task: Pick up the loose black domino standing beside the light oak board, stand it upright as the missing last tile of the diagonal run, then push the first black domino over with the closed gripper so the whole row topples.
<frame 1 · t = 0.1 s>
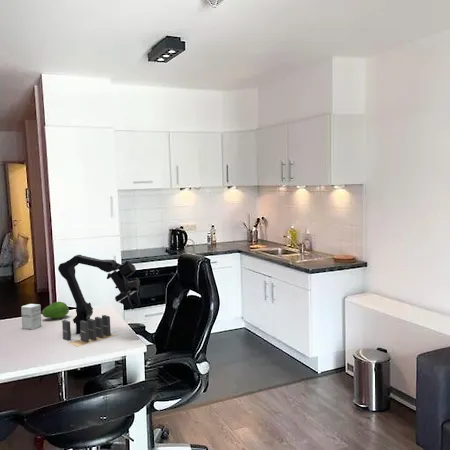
hand: (136, 306, 240), 15 cm above the table, tool tilted 35°, fingers open, 9 cm apart
domino 1: (106, 334, 241), point 1 cm above the table, touching board
domino 2: (99, 336, 238), point 1 cm above the table, touching board
fruit: (55, 319, 277), on the table
domino 3: (92, 339, 235), point 1 cm above the table, touching board
board: (92, 340, 235), on the table
supplement box: (32, 327, 260), on the table
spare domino: (67, 340, 235), on the table
domino 4: (84, 341, 232), point 1 cm above the table, touching board
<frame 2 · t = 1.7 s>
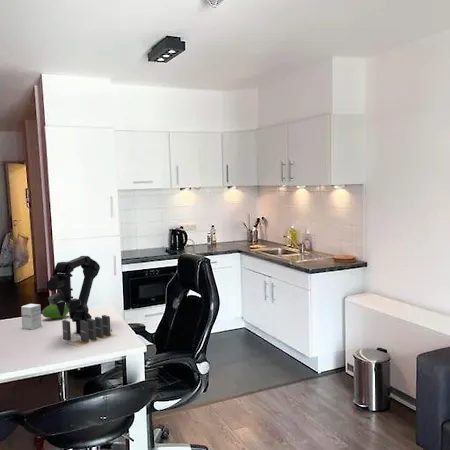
hand: (66, 317, 234), 12 cm above the table, tool pointing down, fingers open, 9 cm apart
nothing on the table moved.
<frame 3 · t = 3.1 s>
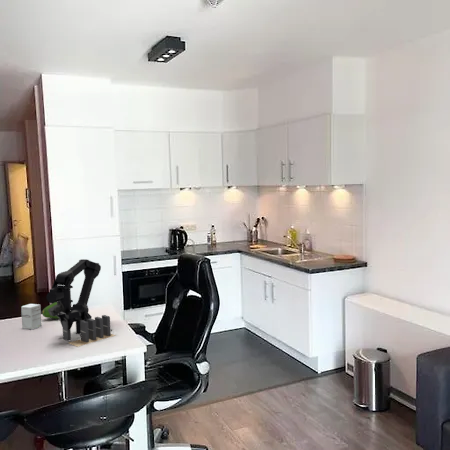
hand: (66, 328, 235), 6 cm above the table, tool pointing down, fingers closed on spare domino, 5 cm apart
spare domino: (67, 340, 235), on the table, touching gripper
everything else where it was.
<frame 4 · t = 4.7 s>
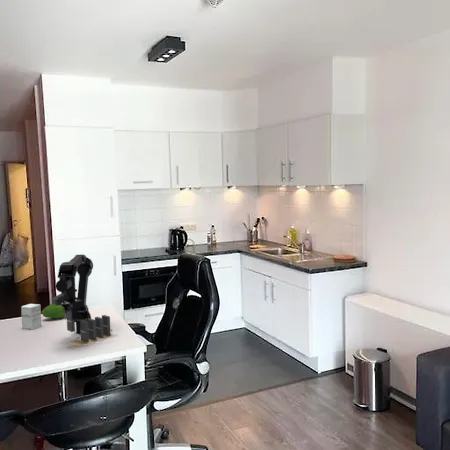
hand: (70, 318, 231), 12 cm above the table, tool pointing down, fingers closed on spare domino, 5 cm apart
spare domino: (71, 330, 231), point 6 cm above the table, touching gripper
everything else where it was.
when the fingers open (8 cm above the table, at t = 6.5 s): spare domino stays where it is, resting on board.
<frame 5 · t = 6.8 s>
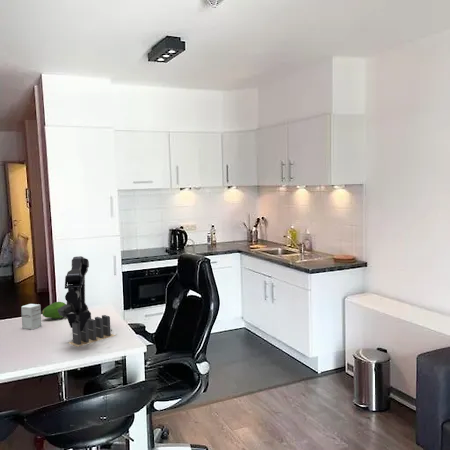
hand: (76, 329, 228), 8 cm above the table, tool pointing down, fingers open, 9 cm apart
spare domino: (77, 343, 229), point 1 cm above the table, touching board
everything else where it was.
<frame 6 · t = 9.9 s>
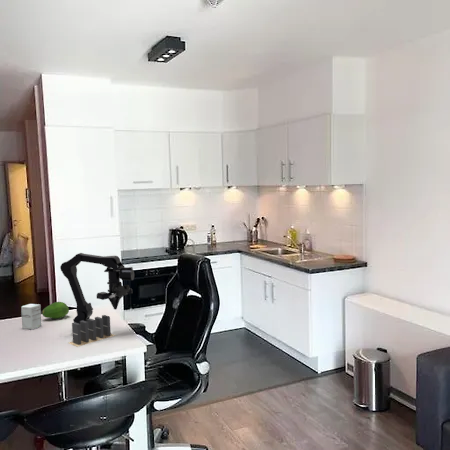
hand: (115, 309, 244), 13 cm above the table, tool pointing down, fingers closed
nothing on the table moved.
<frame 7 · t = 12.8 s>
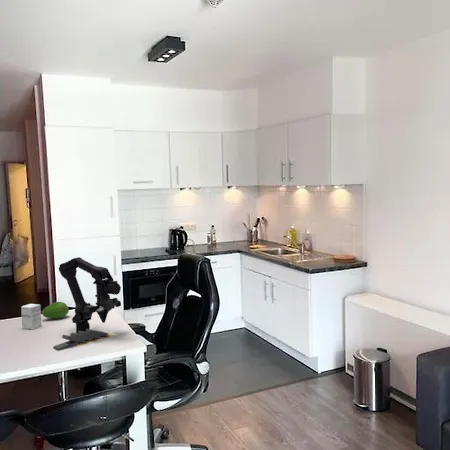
hand: (103, 322, 239), 8 cm above the table, tool pointing down, fingers closed
domino 1: (104, 334, 240), point 1 cm above the table, tilted 68°, touching board, domino 2
domino 2: (97, 336, 237), point 1 cm above the table, tilted 67°, touching board, domino 1, domino 3
domino 3: (90, 338, 234), point 1 cm above the table, tilted 67°, touching board, domino 2, domino 4
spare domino: (74, 342, 228), point 2 cm above the table, tilted 94°, touching board, domino 4
domino 4: (82, 340, 231), point 1 cm above the table, tilted 67°, touching domino 3, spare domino
everything else where it was.
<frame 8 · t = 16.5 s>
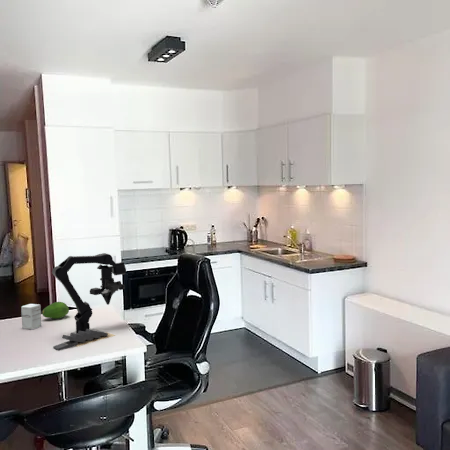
hand: (108, 304, 255), 13 cm above the table, tool pointing down, fingers closed
nothing on the table moved.
at the end: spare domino tilted 94°; domino 1 tilted 68°; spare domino inside the target area (1.2 cm from its centre), point 1.5 cm above the table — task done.
